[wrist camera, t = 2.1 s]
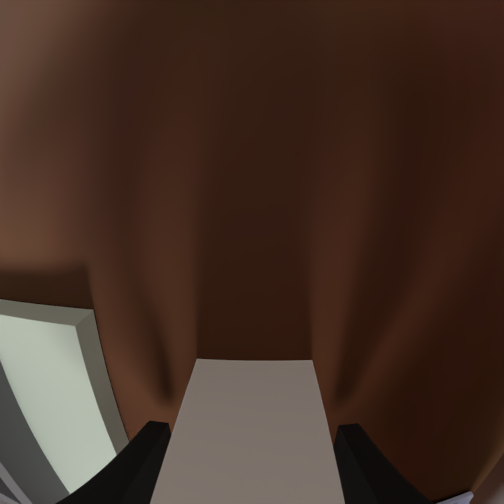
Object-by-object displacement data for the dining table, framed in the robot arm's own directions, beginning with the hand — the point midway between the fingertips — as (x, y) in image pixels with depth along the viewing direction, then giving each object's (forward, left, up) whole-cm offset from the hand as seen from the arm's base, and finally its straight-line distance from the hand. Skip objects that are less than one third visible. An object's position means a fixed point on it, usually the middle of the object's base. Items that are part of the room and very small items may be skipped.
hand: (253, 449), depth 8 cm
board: (+13, +2, -1) cm, 13 cm away
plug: (0, 0, -2) cm, 2 cm away
